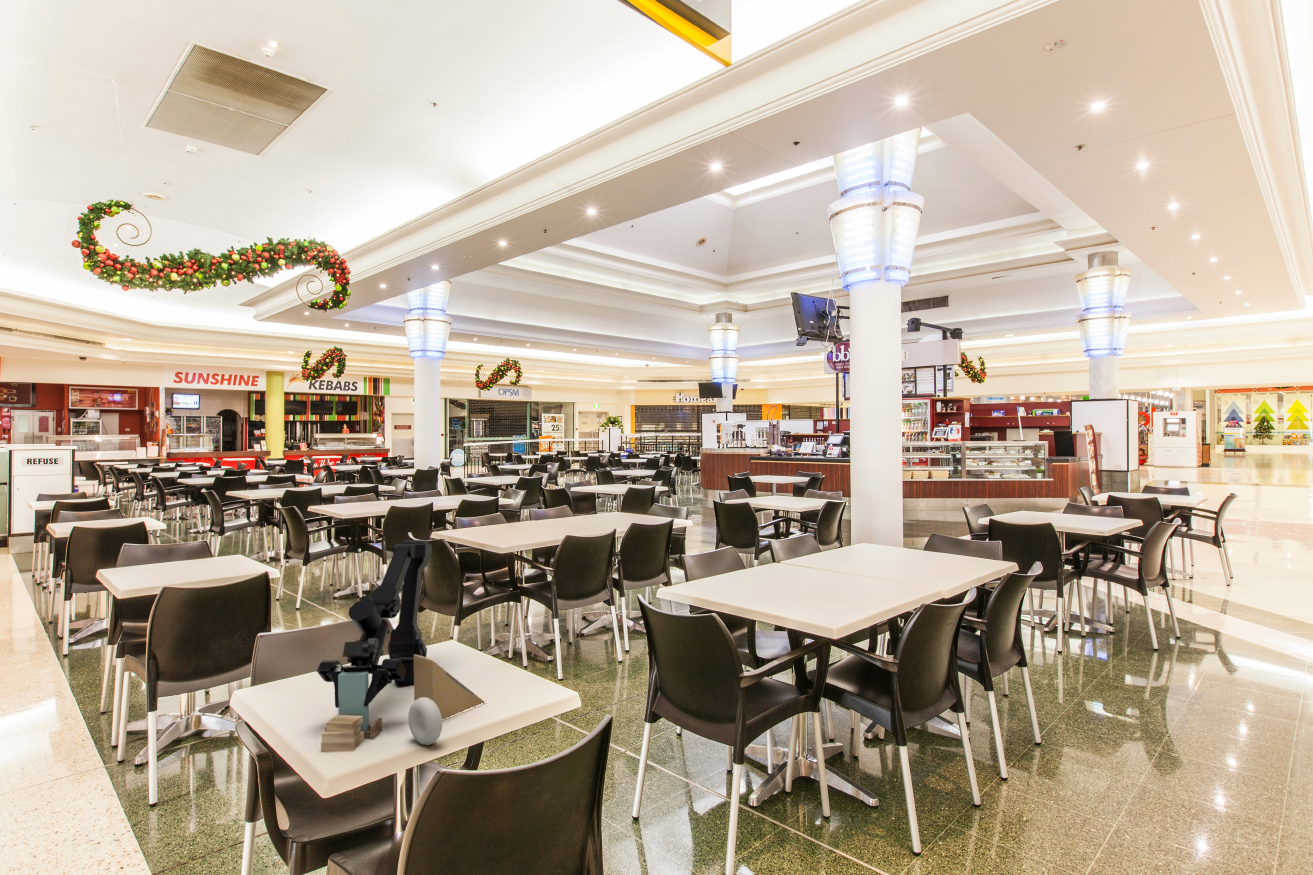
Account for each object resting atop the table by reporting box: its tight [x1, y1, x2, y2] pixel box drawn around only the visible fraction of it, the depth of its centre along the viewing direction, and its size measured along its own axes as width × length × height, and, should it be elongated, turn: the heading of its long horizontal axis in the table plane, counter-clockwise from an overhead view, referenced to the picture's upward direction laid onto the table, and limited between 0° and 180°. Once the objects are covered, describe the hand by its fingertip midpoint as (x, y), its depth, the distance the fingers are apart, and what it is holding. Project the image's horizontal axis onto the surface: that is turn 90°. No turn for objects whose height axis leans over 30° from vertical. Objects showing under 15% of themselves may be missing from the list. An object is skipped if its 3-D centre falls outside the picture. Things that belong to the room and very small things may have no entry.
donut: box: [407, 697, 443, 746], centre depth 139 cm, size 10×4×10 cm, turn 54°
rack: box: [324, 716, 383, 740], centre depth 143 cm, size 4×11×3 cm, turn 91°
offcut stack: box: [320, 714, 365, 753], centre depth 138 cm, size 5×7×6 cm
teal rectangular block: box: [337, 672, 370, 731], centre depth 143 cm, size 2×6×14 cm, turn 91°
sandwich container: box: [413, 654, 486, 720], centre depth 157 cm, size 9×15×15 cm, turn 141°
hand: (350, 706), depth 142 cm, fingers closed on teal rectangular block, 6 cm apart
